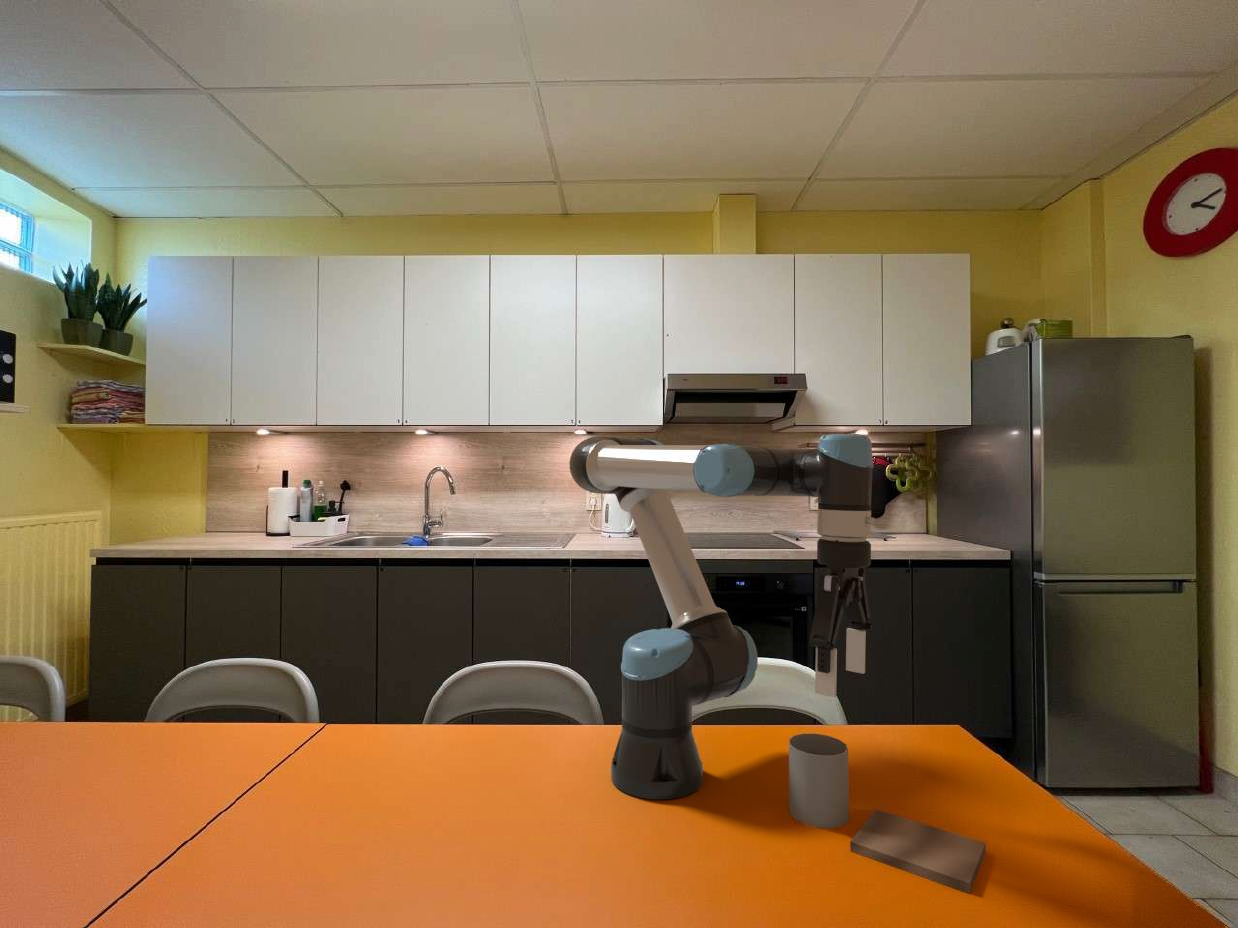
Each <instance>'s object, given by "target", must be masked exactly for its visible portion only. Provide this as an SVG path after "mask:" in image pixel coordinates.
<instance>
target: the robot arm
mask: <svg viewBox="0 0 1238 928" xmlns="http://www.w3.org/2000/svg"><path fill="white" fill-rule="evenodd" d="M872 444H873V443H872V440H871V439H870V437H869V436H866V435H864V434H857V433H831V434H824V435H821V436H820V437H819V441H818V445H817V447H815V448H782V447H781V448H780V447H765V446H764V447H763V446H762V447H761V446H749V445H748V446H747V445H739V444H738V445H736V444H733V443H719V444H711V445H709V444H708V445H707V444H705V445H704V444H702V445H697V444H696V445H693V444H688V445H687V444H683V445H682V444H677V445H675V444H673V445H671V444H668V445H667V444H663V443H661V441H657V440H652V439H649V438H645V437H637V438H632V437H631V438H630V437H629V438H628V437H620V436H619V437H616V436H606V435H598V436H597V435H596V436H592V437H588V438H586V439H584V440H582V441H581V442H579V443H578V444H577V445H576V446H575V447H574V449H573V451H572V452H571V454H570V457H569V471H570V475H571V477H572V479H573V481H574V483H576V485H577V486H578V487H580V488H581V489H583V490H585V491H586V492H590V493H593V494H605V495H615V497H616V500H617V502H618V505H619V507H620V509H621V510H622V511H624V512H627V513H630V515H631V518H632V522H633V523H634V526H635V529H636V530H637V533H638V536H639V539H640V540H641V541H640V542H641V543H642V546H643V549H644V552H645V554H646V557H647V559H648V562H649V565H650V567H651V569H652V572H653V575H654V578H655V581H656V583H657V585H658V588H659V590H660V594H661V596H662V598H663V599H662V600H663V601H664V605H665V606H666V608H667V611H668V614H669V617H670V619H671V622H672V625H671V627H665V628H664V627H663V628H658V629H657V628H654V629H647V630H643V631H640V632H638V633H635V634H633V635H631V637H629V638H628V639H627V640H626V641H625V642H624V644H623V647H622V659H621V660H622V661H621V664H620V671H621V731H620V735H619V738H618V741H617V745H616V748H615V751H614V754H613V757H612V759H611V762H610V763H611V765H610V779H611V782H612V784H613V785H614V786H615V787H616V788H617V789H619V790H620V792H621V791H622V792H623V793H626V794H628V795H630V796H634V797H637V798H640V799H641V798H642V799H646V800H647V799H648V800H672V799H673V800H674V799H678V798H682V797H686V796H690V795H691V794H693V793H695V792H696V791H697V790H699V789H700V788H701V787H702V784H703V781H704V773H703V772H704V767H703V762H702V760H701V758H700V754H699V750H698V747H697V744H696V740H695V736H694V734H693V707H695V706H698V705H702V704H705V703H707V702H711V701H714V700H716V699H721V698H729V697H731V696H733V695H735V694H737V693H739V692H741V691H743V690H745V689H747V688H748V687H750V685H751V683H752V682H753V680H754V679H755V676H756V670H757V669H758V659H759V657H758V651H757V650H758V649H757V647H756V644H755V642H754V640H753V638H752V635H750V633H748V631H747V630H745V629H743V628H742V627H741V626H738V625H733V624H732V621H731V618H730V616H729V614H728V612H727V611H726V610H725V609H722V608H720V607H719V606H718V607H717V605H716V603H715V602H714V599H713V598H712V594H711V592H710V590H709V588H708V586H707V583H706V581H705V578H704V576H703V573H702V571H701V568H700V566H699V563H698V561H697V560H696V557H695V555H694V552H693V549H692V548H691V545H690V542H689V539H688V537H687V535H686V533H685V531H684V528H683V526H682V524H681V521H680V518H679V516H678V514H677V512H676V510H675V506H674V505H673V503H672V500H671V495H672V493H673V491H675V492H686V493H687V492H688V493H689V492H690V493H698V494H708V495H711V496H716V497H721V498H723V497H724V498H732V497H744V496H745V497H747V496H755V497H765V496H766V497H767V496H768V497H784V496H785V497H786V496H787V497H811V498H817V519H816V520H817V521H816V523H817V524H816V525H817V526H816V527H817V528H816V534H817V535H819V536H820V538H818V540H817V542H816V545H817V546H816V561H817V563H818V564H819V565H822V566H827V567H828V571H827V573H828V574H827V575H825V574H820V575H819V578H818V592H817V598H816V604H815V608H814V615H813V619H812V625H811V631H810V636H809V640H808V645H809V647H814V648H815V669H814V670H815V675H814V677H815V678H814V693H815V694H817V695H823V696H826V697H829V698H830V697H831V698H835V697H837V674H838V673H837V669H838V665H837V664H838V663H837V662H838V661H837V660H838V656H837V655H838V648H836V647H835V645H836V642H837V639H838V634H839V631H840V630H839V629H840V625H841V622H842V618H843V614H844V613H845V616H846V620H847V622H848V627H847V628H846V637H845V640H846V642H845V643H846V645H845V647H846V648H845V649H846V650H845V671H849V672H852V673H857V674H863V675H864V674H865V673H866V644H867V643H866V637H867V634H866V633H867V631H872V627H873V623H871V614H870V613H871V612H870V608H869V607H870V606H869V600H868V593H867V586H866V568H868V567H870V565H872V556H871V555H872V544H871V543H870V542H871V541H869V540H867V539H869V538H870V537H871V536H872V525H874V524H875V522H876V519H875V517H872V488H873V484H872V482H873V468H874V463H873V447H872V446H873V445H872ZM866 630H867V631H866Z"/></svg>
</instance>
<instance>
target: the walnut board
mask: <svg viewBox="0 0 1238 928" xmlns="http://www.w3.org/2000/svg"><path fill="white" fill-rule="evenodd" d="M849 847H850V848H849V849H850V850H849V851H850V852H853V853H854V854H857V855H860V856H863V857H866V858H868V859H872V860H875V861H877V862H880V863H883V864H886V865H887V866H888V865H889V866H891V867H894V868H897V869H900V870H903V871H905V872H907V873H911V874H913V875H915V876H916V875H917V876H919V877H922V878H924V879H927V880H930V881H933V882H936V883H939V884H941V885H944V886H947V887H950V888H952V889H955V890H959V891H960V892H964V893H966V894H971V891H972V889H973V886H974V884H975V882H976V878H977V876H978V874H979V870H980V868H981V866H982V864H983V861H984V857H985V855H986V852H987V851H986V850H987V849H986V848H987V847H986V842H984V841H980V840H977V839H974V838H970V837H968V836H964V835H961V834H958V833H955V832H952V831H948V830H944V829H941V828H938V827H935V826H932V825H928V824H926V823H922V822H919V821H915V820H913V819H909V818H906V817H903V816H900V815H896V814H893V813H890V812H886V811H884V810H880V809H874V810H873V811H872V813H871V815H869V817H868V818H867V819H866V821H865V822H864V823H863V824H862V825H861V827H860V828H859V830H858V831H857V832H856V833H855V835H854V836H853V837H852V839H851V840H850V845H849Z"/></svg>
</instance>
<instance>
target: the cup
mask: <svg viewBox="0 0 1238 928" xmlns="http://www.w3.org/2000/svg"><path fill="white" fill-rule="evenodd" d="M788 785H789V786H788V793H789V794H788V801H789V803H788V804H789V805H788V807H789V814H790V815H792V817H793V818H794V819H795V820H797V821H799V822H800V823H803V824H805V825H807V826H811V827H814V826H815V828H820V829H836V828H840V827H842V826H845V825H846V824H847V822H849V820H850V815H849V814H850V808H849V807H850V806H849V804H850V801H849V798H850V797H849V796H850V795H849V791H850V790H849V789H850V788H849V787H850V786H849V785H850V784H849V748H848V746H847V744H846V743H845V742H843V741H842V739H839V738H837V737H833V736H829V735H827V734H821V733H820V734H819V733H798V734H795V735H792V736H791V737H790V738H789V739H788ZM839 826H840V827H839Z"/></svg>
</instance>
